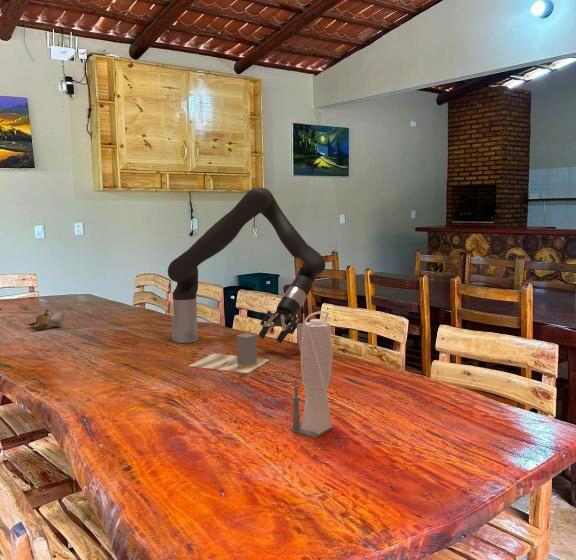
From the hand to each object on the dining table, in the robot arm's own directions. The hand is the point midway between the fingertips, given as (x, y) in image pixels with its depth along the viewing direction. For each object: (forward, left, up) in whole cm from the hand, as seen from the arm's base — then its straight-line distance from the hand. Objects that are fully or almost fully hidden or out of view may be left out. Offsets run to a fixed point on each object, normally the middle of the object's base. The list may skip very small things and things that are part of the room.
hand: (269, 339), depth 184 cm
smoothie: (+6, +18, -8) cm, 20 cm away
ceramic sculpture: (-117, +14, -8) cm, 118 cm away
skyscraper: (+34, -48, -8) cm, 60 cm away
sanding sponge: (-3, -11, -6) cm, 13 cm away
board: (-10, -10, -8) cm, 16 cm away
